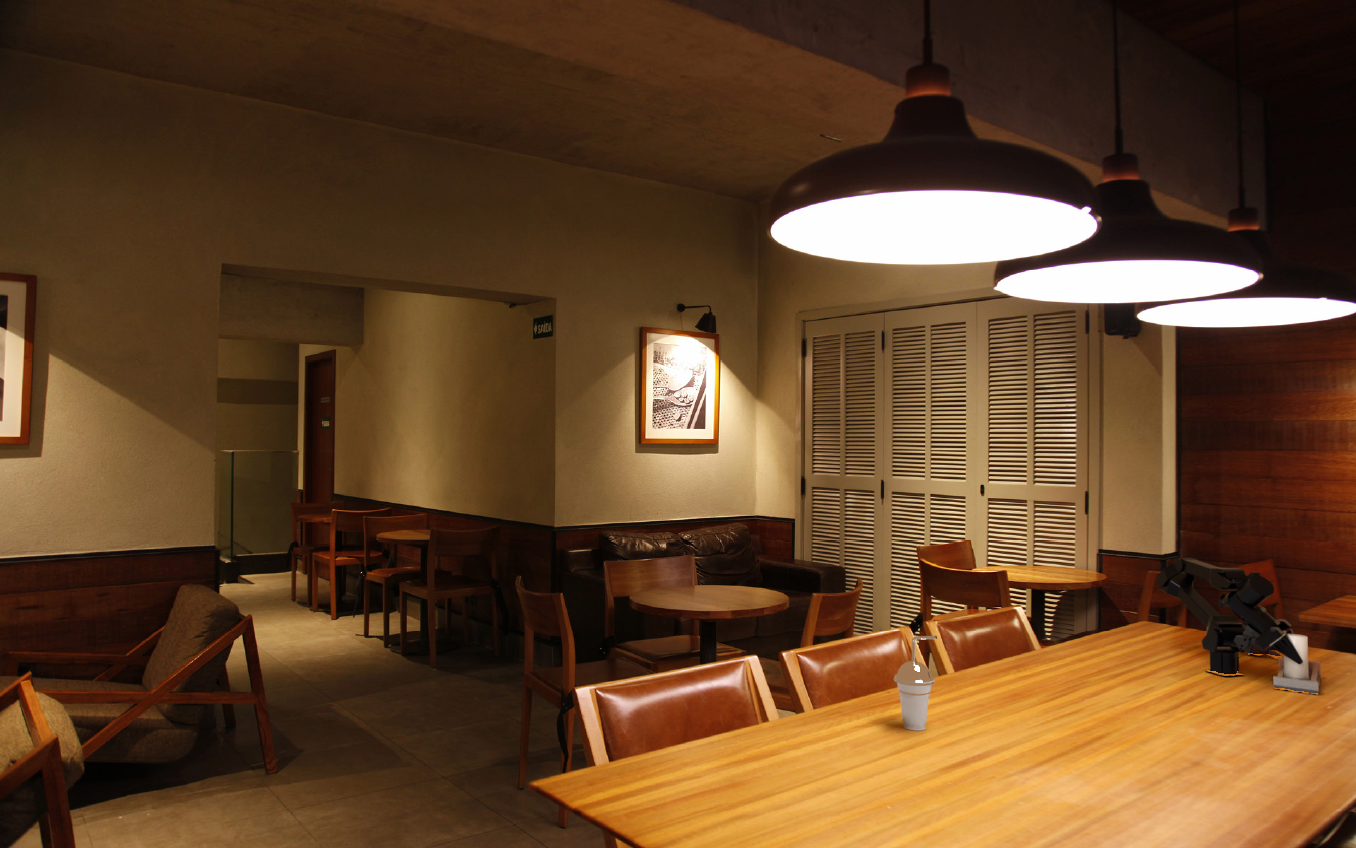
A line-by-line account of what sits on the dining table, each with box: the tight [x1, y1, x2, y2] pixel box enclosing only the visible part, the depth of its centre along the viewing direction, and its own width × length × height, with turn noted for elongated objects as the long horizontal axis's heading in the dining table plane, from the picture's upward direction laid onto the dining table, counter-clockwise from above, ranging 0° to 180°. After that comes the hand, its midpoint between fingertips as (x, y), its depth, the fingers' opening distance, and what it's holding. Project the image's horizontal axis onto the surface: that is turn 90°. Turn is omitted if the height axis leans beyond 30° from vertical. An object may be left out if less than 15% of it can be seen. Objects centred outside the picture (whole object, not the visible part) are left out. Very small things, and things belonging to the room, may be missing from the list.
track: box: [1272, 656, 1322, 693], centre depth 221 cm, size 21×9×4 cm, turn 142°
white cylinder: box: [1283, 633, 1309, 680], centre depth 217 cm, size 5×5×12 cm
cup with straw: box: [893, 635, 938, 732], centre depth 183 cm, size 8×9×20 cm
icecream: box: [1250, 643, 1282, 656], centre depth 254 cm, size 7×7×15 cm
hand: (1302, 661), depth 216 cm, fingers closed on white cylinder, 5 cm apart
